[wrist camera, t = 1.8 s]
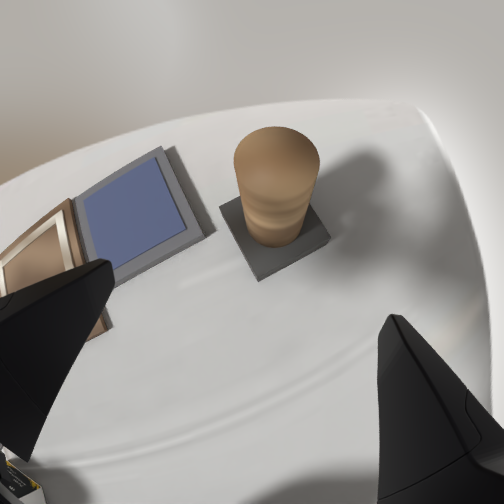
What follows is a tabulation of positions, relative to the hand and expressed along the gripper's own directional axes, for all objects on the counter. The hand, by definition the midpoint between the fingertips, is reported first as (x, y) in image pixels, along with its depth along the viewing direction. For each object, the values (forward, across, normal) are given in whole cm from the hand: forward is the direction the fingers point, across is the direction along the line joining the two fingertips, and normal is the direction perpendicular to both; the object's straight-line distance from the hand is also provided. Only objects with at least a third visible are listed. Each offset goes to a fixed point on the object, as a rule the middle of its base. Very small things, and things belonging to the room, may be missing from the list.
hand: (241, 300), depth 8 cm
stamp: (+14, 0, +4) cm, 14 cm away
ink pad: (+13, +12, +5) cm, 19 cm away
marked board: (+7, +22, +11) cm, 25 cm away
